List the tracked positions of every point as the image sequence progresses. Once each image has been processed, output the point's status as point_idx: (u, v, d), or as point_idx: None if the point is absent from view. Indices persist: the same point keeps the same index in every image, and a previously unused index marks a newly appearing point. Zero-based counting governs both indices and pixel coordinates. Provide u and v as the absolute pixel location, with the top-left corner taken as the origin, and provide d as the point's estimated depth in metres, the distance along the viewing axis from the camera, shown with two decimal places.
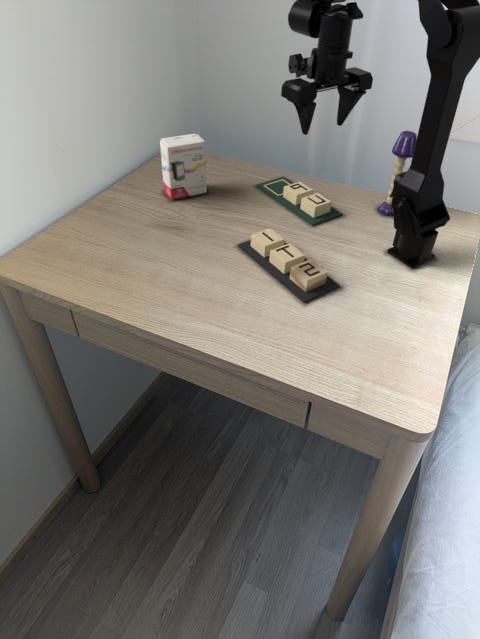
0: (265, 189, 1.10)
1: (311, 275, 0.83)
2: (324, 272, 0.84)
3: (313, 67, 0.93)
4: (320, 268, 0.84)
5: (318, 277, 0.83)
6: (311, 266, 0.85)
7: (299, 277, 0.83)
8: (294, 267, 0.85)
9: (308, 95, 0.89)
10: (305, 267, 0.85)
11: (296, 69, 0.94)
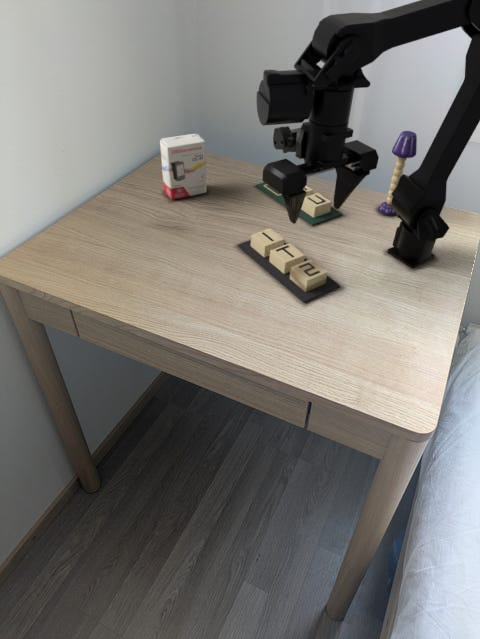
0: (265, 189, 1.10)
1: (311, 275, 0.83)
2: (324, 272, 0.84)
3: (303, 145, 0.74)
4: (320, 268, 0.84)
5: (318, 277, 0.83)
6: (311, 266, 0.85)
7: (299, 277, 0.83)
8: (294, 267, 0.85)
9: (295, 184, 0.70)
10: (305, 267, 0.85)
11: (282, 146, 0.75)
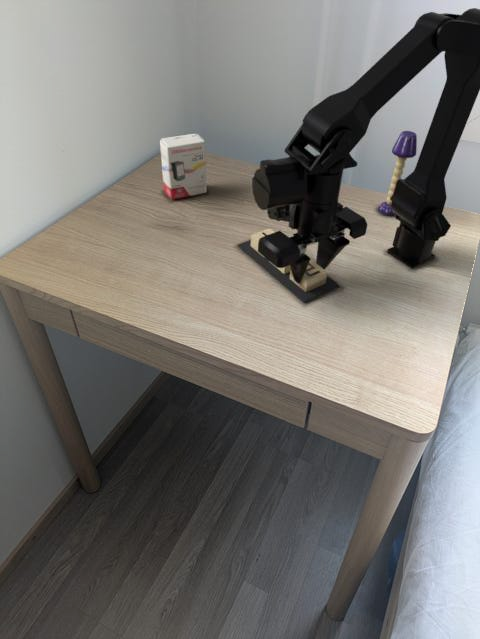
0: None
1: (311, 275, 0.83)
2: (324, 272, 0.84)
3: (296, 217, 0.78)
4: (320, 268, 0.84)
5: (318, 277, 0.83)
6: (311, 266, 0.85)
7: None
8: None
9: (289, 258, 0.74)
10: None
11: (276, 217, 0.79)
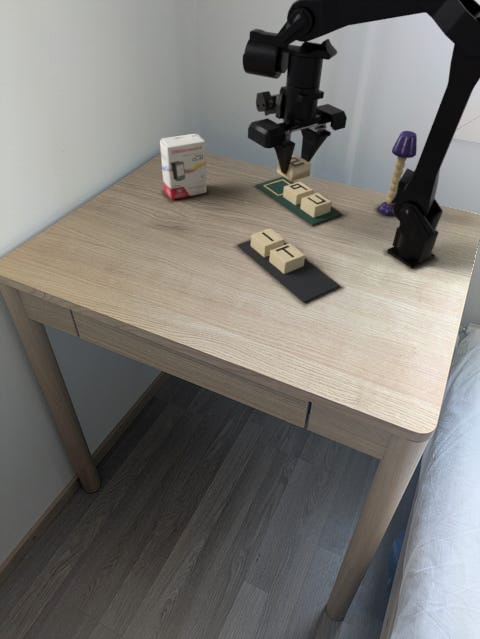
0: (265, 189, 1.10)
1: (296, 165, 0.91)
2: (308, 163, 0.92)
3: (282, 106, 0.86)
4: (304, 161, 0.93)
5: (302, 168, 0.92)
6: (296, 159, 0.93)
7: None
8: None
9: (276, 138, 0.83)
10: (291, 160, 0.93)
11: (264, 108, 0.87)
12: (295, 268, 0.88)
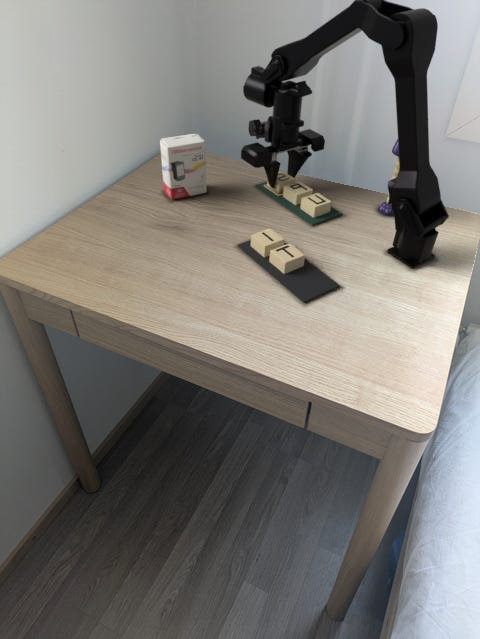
0: (265, 189, 1.10)
1: (282, 180, 1.08)
2: (293, 179, 1.09)
3: (270, 132, 1.03)
4: (290, 176, 1.10)
5: (288, 182, 1.09)
6: (283, 175, 1.10)
7: None
8: None
9: (264, 160, 1.00)
10: (278, 176, 1.10)
11: (255, 133, 1.05)
12: (295, 268, 0.88)
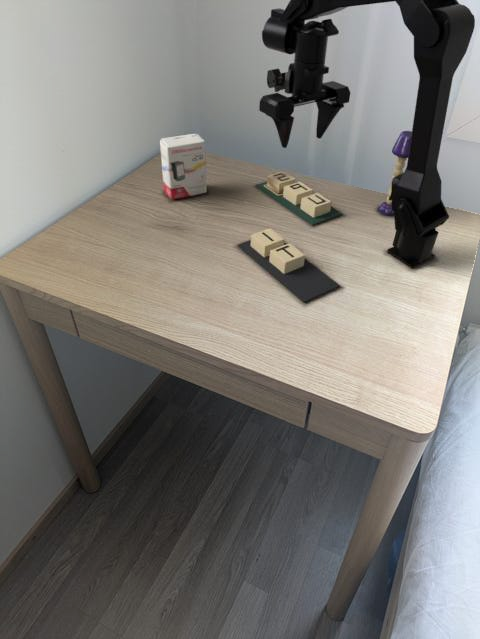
0: (265, 189, 1.10)
1: (282, 180, 1.08)
2: (293, 179, 1.09)
3: (290, 82, 0.94)
4: (290, 176, 1.10)
5: (288, 182, 1.09)
6: (283, 175, 1.10)
7: (274, 182, 1.09)
8: (269, 175, 1.10)
9: (285, 110, 0.91)
10: (278, 176, 1.10)
11: (274, 84, 0.96)
12: (295, 268, 0.88)
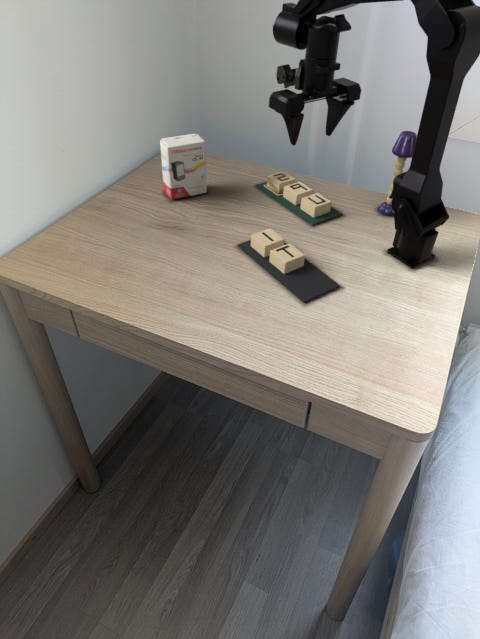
0: (265, 189, 1.10)
1: (282, 180, 1.08)
2: (293, 179, 1.09)
3: (301, 78, 0.92)
4: (290, 176, 1.10)
5: (288, 182, 1.09)
6: (283, 175, 1.10)
7: (274, 182, 1.09)
8: (269, 175, 1.10)
9: (295, 107, 0.89)
10: (278, 176, 1.10)
11: (284, 80, 0.94)
12: (295, 268, 0.88)
